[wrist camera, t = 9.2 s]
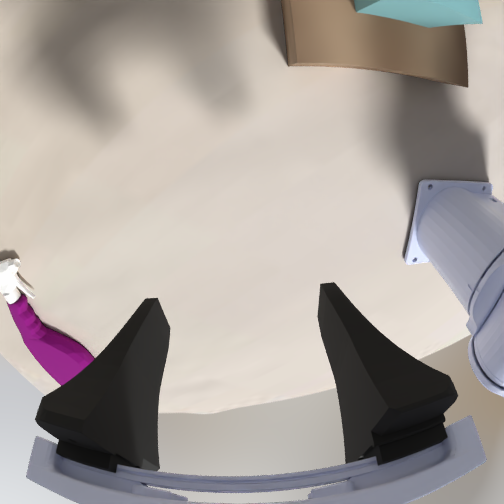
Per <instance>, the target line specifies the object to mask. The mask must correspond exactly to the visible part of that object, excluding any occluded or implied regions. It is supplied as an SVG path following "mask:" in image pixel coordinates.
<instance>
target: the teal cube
mask: <svg viewBox="0 0 504 504" xmlns="http://www.w3.org/2000/svg"><path fill="white" fill-rule="evenodd" d="M354 3H355V9H356V12H357V13H364V14H371V15H376V16H382V17H387V18H392V19H396V20H401V21H405V22H409V23H413V24H416V25H420V26H424V27H427V28H432V27H440V26H449V25H462V24H483V23H482V17H481V12H480V7H479V2H478V0H354Z"/></svg>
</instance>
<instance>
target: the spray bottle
mask: <svg viewBox="0 0 504 504" xmlns="http://www.w3.org/2000/svg"><path fill="white" fill-rule="evenodd" d="M19 267H20V260H19V259H17V258H16V259H11V258H9V259H6V260H3V261H0V292H1V293H2V294H3V296H4V297H5V299H6V300H7V304H8V307H9V310H10V312H11V315H12V317H13V320H14V322H15V324H16V326H17V327H18V329H19V331H20V333H21V335H22V338H23V341H24V343H25V345H26V346H27V348H28V349H29V350H30V352H31V353H32V355H33V356H34V357H35V359H36V360H37V361H38V362H39V363H40V365H41V366H42V367H43V368H44V369H45V370H46V371H47V372H48V373H49V374H50V375H51V376H52V377H53V378H54V379H55V380H56V381H57V382H58V383H59V384H60V385H61V386H62V385H64V384H65V383H66V382H68V381H69V380H71V379H72V378H73V377H75V376H76V375H77V374H78V373H79V372H81V371H82V370H83V369H84V368H85V367H86V366H88V365H89V364H90V363H91V362H92V361H93V360H94V359H95V358H94V357H93V356H92V355H91V354H90V353H89V352H88V351H87V350H86V349H85V348H84V347H83V346H82V345H80V344H79V343H77V342H76V341H74V340H72V339H70V338H69V337H67V336H65V335H62V334H60V333H58V332H56V331H54V330H51V329H49V328H47V327H45V326H44V325H43V324H42V323H41V321H40V319H39V318H38V317H37V316H36V315H35V313H34V310H33V309H32V308H31V307H30V306H29V305H28V302H27V297H26V296H24V295H23V294H21V293H20V292H19V290H18V288H20V289H21V290H22V291H23V292H25V293H26V294H27V295H28V296H30V297H31V298H33V299H34V297H35V295H34V294H33V293H32V292H31V291H30V290H29V289H28V287H27V286H26V285H25V284H24V283H23V282H22V281H21V280H20V278H19V277H18V275H17V270H18V268H19ZM16 286H17V287H18V288H17V287H16Z"/></svg>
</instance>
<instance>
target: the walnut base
mask: <svg viewBox="0 0 504 504" xmlns="http://www.w3.org/2000/svg"><path fill="white" fill-rule="evenodd" d="M281 4H282V12H283V20H284V29H285V39H286V48H287V59H288V66H326V67H344V68H357V69H367V70H376V71H383V72H390V73H397V74H403V75H408V76H414V77H419V78H423V79H428V80H432V81H437V82H441V83H446V84H452V85H458V86H463V87H468V63H467V49H466V38H465V30H464V24H462V25H449V26H440V27H432V28H427V27H424V26H420V25H416V24H413V23H409V22H405V21H401V20H396V19H392V18H387V17H382V16H376V15H371V14H364V13H357V12H356V9H355V3H354V0H281Z"/></svg>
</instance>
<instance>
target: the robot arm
mask: <svg viewBox="0 0 504 504" xmlns="http://www.w3.org/2000/svg"><path fill="white" fill-rule="evenodd" d="M429 185H430V187H429V188H428V186H429ZM492 189H493V185H492V184H491V183H489V182H476V181H455V180H422V181H421V182H420V183H419V186H418V193H417V200H416V206H415V211H414V217H413V222H412V227H411V232H410V237H409V241H408V246H407V250H406V254H405V258H404V261H405V263H406V264H407V265H410V264H417V263H424V262H431V263H432V265H433V266H434V267H435V269H436V270H437V271H438V272H439V274H440V275H441V276H442V278H443V279H444V280H445V282H446V283H447V284H448V286H449V287H450V288H451V290H452V291H453V293H454V294H455V295H456V297H457V298H458V300H459V301H460V303H461V304H462V305H463V307H464V308H465V310H466V311H467V313H468V314H469V316H470V317H469V320H468V322H467V324H466V326H467V328H468V329H469V331H470V333H471V334H472V337H471V339H470V342H469V345H468V357H469V361H470V365H471V367H472V370H473V372H474V373H475V375H476V377H477V378H478V380H479V381H480V382H481V383H482V384H483V386H485V387H486V388H487V389H488V390H490V391H491V392H493V393H496V394H498V395H500V396H503V397H504V203H502V202H501V201H500V200H498V199H497V198H496V197H494V196H493V195H491V194H492ZM318 321H319V327H320V332H321V337H322V340H323V343H324V346H325V349H326V353H327V356H328V359H329V362H330V365H331V369H332V372H333V375H334V379H335V383H336V387H337V393H338V399H339V405H340V411H341V417H342V426H343V434H344V446H345V458H346V459H345V461H346V464H343V465H338V466H334V467H328V468H322V469H316V470H310V471H303V472H295V473H286V474H276V475H262V476H237V477H236V476H230V477H228V476H197V475H183V474H174V473H165V472H158V470H159V469H160V466H159V455H158V425H157V424H158V404H159V393H160V386H161V382H162V377H163V372H164V367H165V363H166V358H167V353H168V348H169V338H170V326H169V324H168V322H167V319H166V317H165V315H164V312H163V310H162V307H161V305H160V303H159V300H158V298H148V299H145V300H144V301H143V302H142V304H141V305H140V306H139V307H138V309H137V310H136V311H135V313H134V314H133V315H132V316H131V318H130V319H129V320H128V322H127V323H126V324H125V325H124V327H123V328H122V329H121V330H120V332H119V333H118V334H117V335H116V336H115V337H114V339H113V340H112V341H111V342H110V343H109V345H108V346H107V347H106V348H105V349H104V350H103V351H102V352H101V353H100V354H99V355H98V356H97V357H96V358H95V359H94V360H93V361H92V362H91V363H90V364H89V365H88V366H86V367H85V368H84V369H83V370H82V371H81V372H79V373H78V374H77V375H76V376H75V377H73V378H72V379H71V380H69V381H68V382H66V383H65V384H64V385H62V386H61V387H59V388H58V389H56V390H54V391H53V392H51V393H49V394H48V395H46V396H44V397H42V400H41V403H40V406H39V409H38V412H37V415H36V418H35V420H36V422H37V424H38V425H39V426H40V427H42V428H43V429H44V430H46V431H47V432H48V433H50V434H51V435H53V436H54V437H56V438H57V439H59V442H58V444H56V443H54V442H51V441H49V440H46V439H44V438H41V437H38V436H36V438H35V442H34V445H33V449H32V453H31V457H30V461H29V466H28V470H27V475H26V477H27V478H28V479H30V480H32V481H33V482H35V483H37V484H39V485H41V486H43V487H45V488H47V489H49V490H51V491H53V492H55V493H57V494H59V495H61V496H63V497H65V498H67V499H70V500H72V501H74V502H76V503H79V504H229V503H203V502H188V498H187V497H184V496H180V495H176V494H173V493H171V492H170V491H165V490H159V489H155V488H150V487H148V486H147V485H149V486H155V487H161V488H168V489H177V490H185V491H198V492H215V493H217V492H218V493H252V492H271V491H283V490H291V489H300V488H308V487H314V486H320V485H326V484H331V483H336V482H340V483H336V484H332V485H329V486H324V487H320V488H316V489H312V491H311V493H310V494H308V499H307V500H298V501H289V502H275V503H251V504H407V503H410V502H412V501H414V500H417V499H419V498H421V497H423V496H425V495H427V494H429V493H432V492H434V491H436V490H437V489H440V488H441V487H443V486H445V485H447V484H449V483H451V482H453V481H455V480H456V479H458V478H460V477H462V476H463V475H465V474H467V473H469V472H470V471H472V470H473V469H475V468H477V467H478V466H480V465H482V464H483V463H485V462H486V460H487V459H486V456H485V452H484V450H483V446H482V443H481V440H480V438H479V435H478V432H477V429H476V426H475V424H474V421H473V419H472V416H471V415H469V416H467V417H465V418H463V419H461V420H459V421H457V422H455V423H453V424H451V425H449V426H448V427H446V428H444V425H443V422H445V416H444V414H443V413H444V412H445V411H446V410H447V409H448V408H449V407H450V406H451V405H452V404H453V403H454V402H455V401H456V399H457V397H458V394H457V391H456V389H455V387H454V384H453V382H452V380H451V378H450V377H449V376H448V375H446V374H444V373H442V372H440V371H438V370H435V369H433V368H431V367H429V366H427V365H426V364H424V363H422V362H421V361H419V360H417V359H415V358H414V357H412V356H411V355H409V354H408V353H406V352H405V351H404V350H402V349H401V348H399V347H398V346H397V345H395V344H394V343H393V342H391V341H390V340H389V339H388V338H387V337H385V336H384V335H383V334H382V333H381V332H380V331H379V330H377V329H376V328H375V327H374V326H373V325H372V324H371V323H370V322H369V321H368V320H367V319H366V318H365V317H364V316H363V315H362V314H361V312H360V311H359V310H358V309H357V308H356V307H355V306H354V305H353V304H352V303H351V301H350V300H349V299H348V298H347V297H346V296H345V294H344V293H343V292H342V291H341V290H340V288H339V287H338V286H337V285H336V284H335V283H334V282H333V283H324V284H320V296H319V307H318ZM345 480H347V481H345ZM341 481H345V482H341ZM249 504H250V503H249Z"/></svg>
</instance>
